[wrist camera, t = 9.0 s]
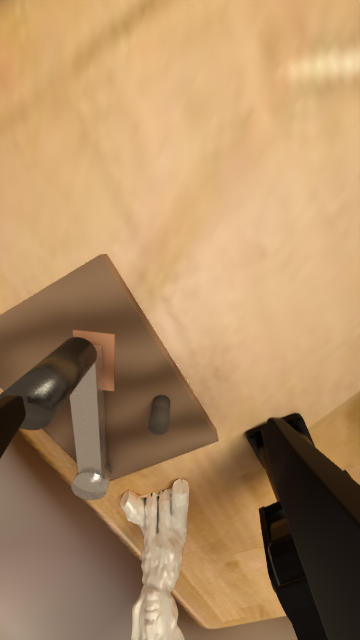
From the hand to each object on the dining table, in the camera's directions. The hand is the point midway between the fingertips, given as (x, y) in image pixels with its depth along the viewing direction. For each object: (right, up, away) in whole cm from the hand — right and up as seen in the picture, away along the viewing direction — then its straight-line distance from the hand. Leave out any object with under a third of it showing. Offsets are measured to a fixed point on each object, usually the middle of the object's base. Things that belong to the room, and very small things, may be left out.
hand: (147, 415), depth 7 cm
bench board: (-7, -4, +14) cm, 16 cm away
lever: (-8, -6, +13) cm, 16 cm away
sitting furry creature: (-1, -22, +21) cm, 30 cm away
